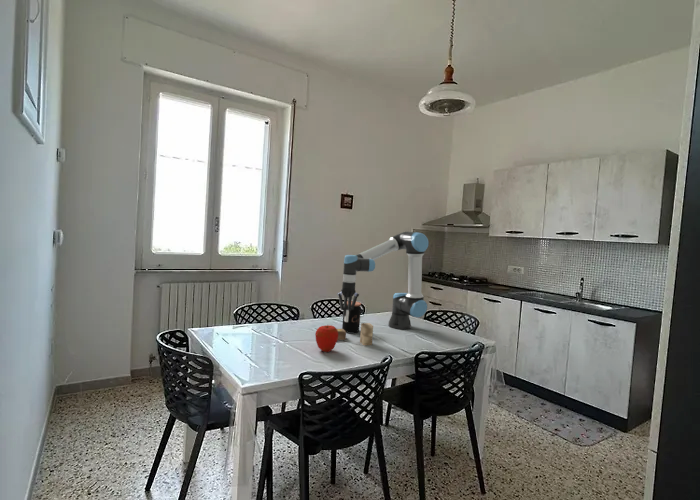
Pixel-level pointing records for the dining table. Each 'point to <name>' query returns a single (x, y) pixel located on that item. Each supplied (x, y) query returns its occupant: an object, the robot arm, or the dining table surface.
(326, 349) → the apple
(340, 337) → the walnut block
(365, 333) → the beech block
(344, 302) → the robot arm
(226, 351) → the dining table surface
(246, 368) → the dining table surface
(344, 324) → the coffee jar
